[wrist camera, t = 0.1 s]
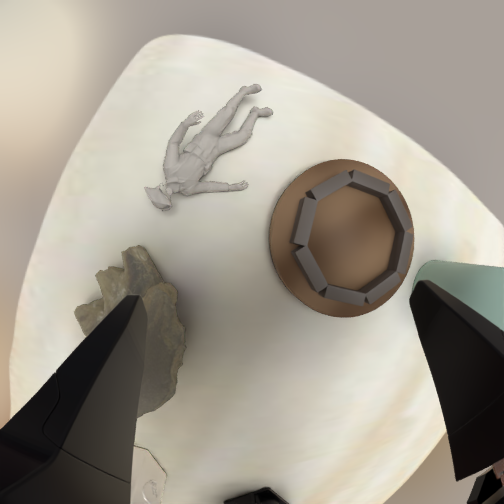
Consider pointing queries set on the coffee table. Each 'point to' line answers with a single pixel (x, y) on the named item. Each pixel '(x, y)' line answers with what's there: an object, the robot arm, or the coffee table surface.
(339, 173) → the segmented ring tray
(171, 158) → the soldier figure
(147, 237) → the coffee table surface
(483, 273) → the column
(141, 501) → the jar
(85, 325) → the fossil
